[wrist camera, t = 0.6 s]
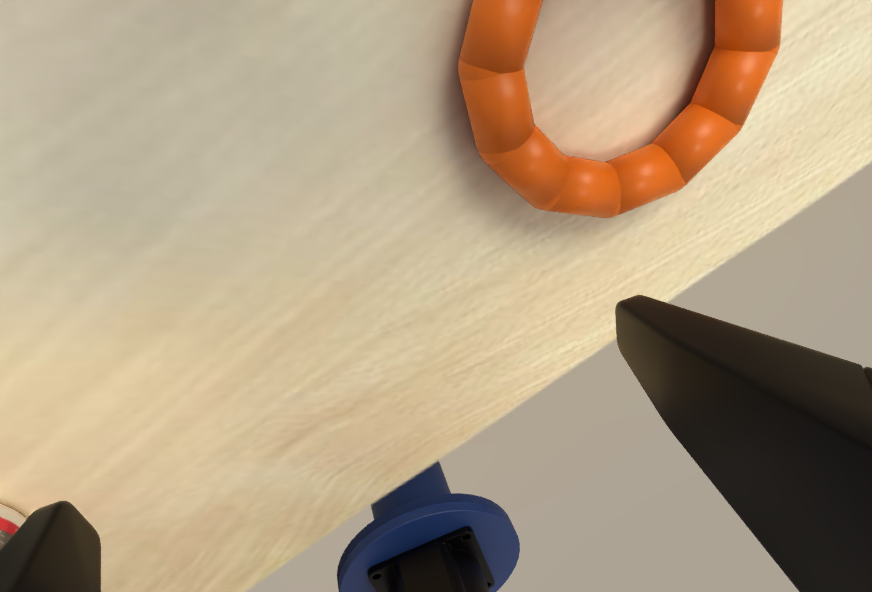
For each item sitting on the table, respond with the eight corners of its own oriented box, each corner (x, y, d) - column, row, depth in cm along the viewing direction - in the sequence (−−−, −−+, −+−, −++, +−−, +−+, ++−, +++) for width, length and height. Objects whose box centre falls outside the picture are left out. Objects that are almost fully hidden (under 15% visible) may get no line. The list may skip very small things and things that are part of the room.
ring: (748, 142, 26) (785, 158, 24) (495, 244, 25) (514, 268, 24) (760, -204, 19) (814, -217, 17) (412, -80, 18) (430, -81, 17)
